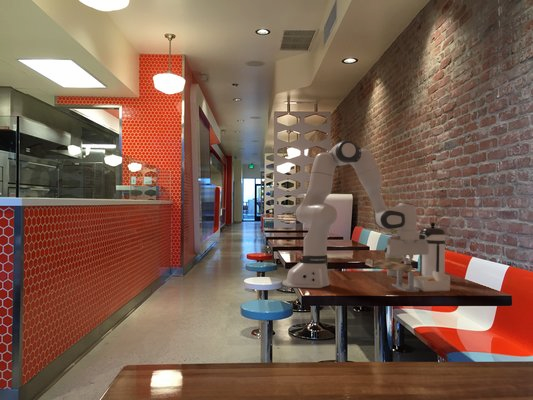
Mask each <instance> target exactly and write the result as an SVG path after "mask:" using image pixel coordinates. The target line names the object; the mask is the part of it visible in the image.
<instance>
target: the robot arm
mask: <svg viewBox="0 0 533 400" xmlns="http://www.w3.org/2000/svg"><path fill="white" fill-rule="evenodd" d="M313 160H314V161H313V163H312V167H311V171H310V177H309V182H308V187H307V189H306V190H307V191H306V194H305V196H304V198H303V200H302V202H301V203H300V205H298V206H297V208H296V210H295V218H296V220H297V221H298V222H300V223H301V224H303V225H306V226H309V229H308V231H307V234H306V235H305V236H304V237H303V254H297V256H296V258H297V259H298V260H299V262H297V264H295V265H294V266H292V267H291V268H290V269H289V270H288V272H287V276H286V279H283V280H282V282H281V284H282V285H283V286H285V287H288V288H303V289H304V288H305V289H307V288H309V289H310V288H311V289H322V288H324V287H328V286H330V280H329V275H328V260H329V257H328V253H327V250H328V249H327V248H328V247H327V246H328V236H329V233H330V230H331V228H332V226H333V225H334V224H335V223H336V221H337V218H338V212H337V210H336V207H334V206H333V205H330V204H328V203H325V201H326V200H327V198H328V196H329V195H330V194H331V193H332V189H333V188H332V187H333V181H334V176H335V170H336V168H339V167H344V166H346V165H350V166H351V167H352V168H353V169H354V172H355V174H356V176H357V178H358V181H359V182H360V184H361V185H362V187H363V189H364V191H365V193H366V195H367V196H368V199H369V201H370V203H371V206H372V208H373V214H374V216H373V220H374V223H375V226H377V227H378V228H379V229H383V230H394V229H397V235H396V236H395V235H394V236H392V235H391V236H389V237H388V238H387V240H386V244H387V246H386V248H387V254H388V255H391V256H393V255H402V260H403V261H404V262H403V263H405V264H408V265H411V264H412V260H413V259H414V256H420V255H427V254H428V251H429V250H428V242H427V241H426V239H427V236H426V235H423V234H420V232H418V228H417V222H418V217H417V215H418V213H417V209H416V206H415V205H414V204H412V203H409V202H399V203H398V204H397V205H395V206H392V207H391V208H388V207H387V206H386V203H385V200H384V197H383V195H382V192H381V186H382V182H383V177H382V172H381V170H380V167H379V165H378V162H377V160H376V158H374V156H373V154H372V152H370V150H368V149H366V148H360V147H359V146H357V144H356V143H354V142H353V141H352V140H342V141H340V142H338V143H336V144H335V145H334V146H333V147H331V148H330V149H329V150H328V152H320V153H319V152H318V153H317V154H316V155H315V158H314V159H313ZM407 256H408V259H407Z"/></svg>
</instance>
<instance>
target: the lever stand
mask: <svg viewBox="0 0 533 400" xmlns="http://www.w3.org/2000/svg"><path fill="white" fill-rule="evenodd" d="M414 276H415V271H412V272H408V273H407V283H404V282H403V271H400V270H397V277H396V282H395V283H394V282H393V283H391V286H392V287H395V288H397V289H399V290H401V291H403V292H405V291H406V293H419V292H420V290H419V289H417V288H414Z"/></svg>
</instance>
